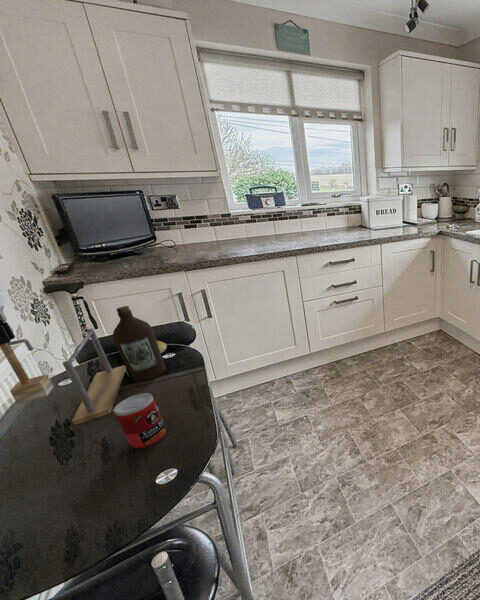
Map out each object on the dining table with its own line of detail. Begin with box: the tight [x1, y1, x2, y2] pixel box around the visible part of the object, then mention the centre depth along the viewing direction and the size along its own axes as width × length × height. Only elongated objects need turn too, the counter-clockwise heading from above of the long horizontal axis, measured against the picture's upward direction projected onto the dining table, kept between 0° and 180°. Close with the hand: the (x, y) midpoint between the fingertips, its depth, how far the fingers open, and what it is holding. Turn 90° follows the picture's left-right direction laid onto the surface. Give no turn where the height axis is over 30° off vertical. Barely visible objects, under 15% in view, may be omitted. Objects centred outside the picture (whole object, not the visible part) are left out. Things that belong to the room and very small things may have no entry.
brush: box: [0, 338, 55, 405], centre depth 73 cm, size 6×4×20 cm
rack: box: [62, 327, 127, 426], centre depth 101 cm, size 8×30×18 cm, turn 32°
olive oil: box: [112, 305, 167, 383], centre depth 109 cm, size 11×11×25 cm
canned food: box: [113, 392, 167, 450], centre depth 81 cm, size 8×8×11 cm
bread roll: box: [157, 340, 168, 354], centre depth 128 cm, size 8×9×4 cm
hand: (2, 341), depth 71 cm, fingers closed on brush, 1 cm apart
